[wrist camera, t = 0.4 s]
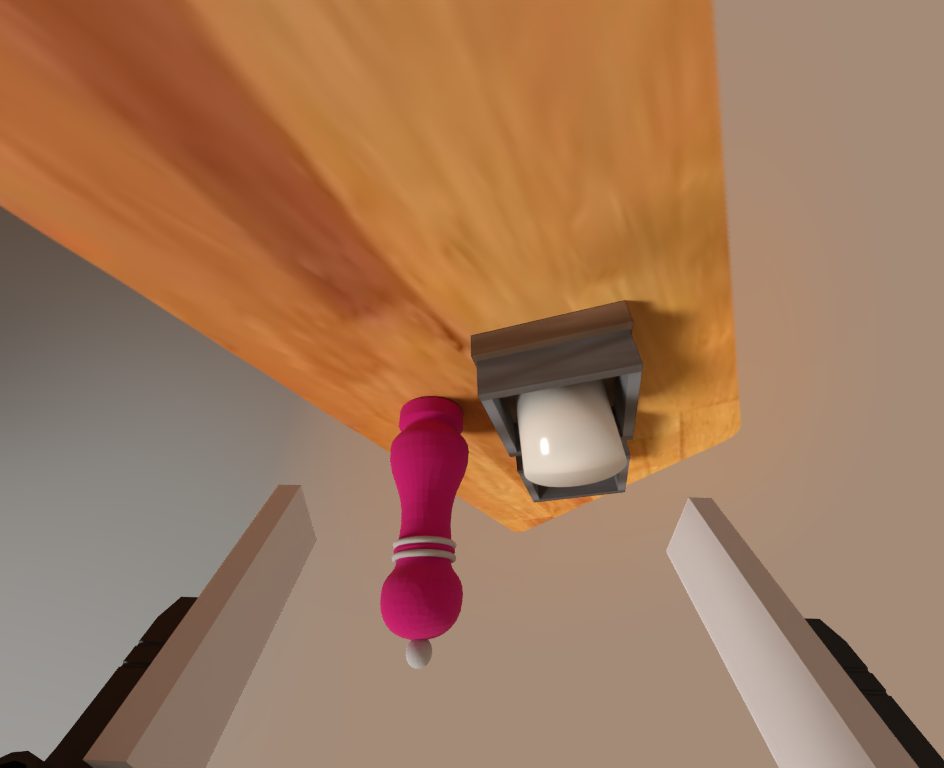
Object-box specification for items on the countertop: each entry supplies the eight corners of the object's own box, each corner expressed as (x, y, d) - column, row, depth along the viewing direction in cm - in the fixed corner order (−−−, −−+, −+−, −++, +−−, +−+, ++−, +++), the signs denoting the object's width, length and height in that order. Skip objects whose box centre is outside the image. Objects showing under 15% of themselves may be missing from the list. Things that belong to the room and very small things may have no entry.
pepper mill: (482, 407, 35) (493, 667, 23) (444, 436, 39) (437, 664, 27) (416, 384, 31) (390, 675, 19) (383, 418, 36) (346, 669, 24)
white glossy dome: (518, 362, 26) (529, 448, 22) (613, 359, 26) (642, 445, 22) (511, 411, 31) (519, 488, 27) (589, 409, 31) (609, 485, 27)
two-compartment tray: (470, 336, 26) (472, 390, 23) (624, 300, 24) (647, 356, 21) (528, 466, 47) (533, 504, 44) (615, 454, 44) (626, 493, 41)
